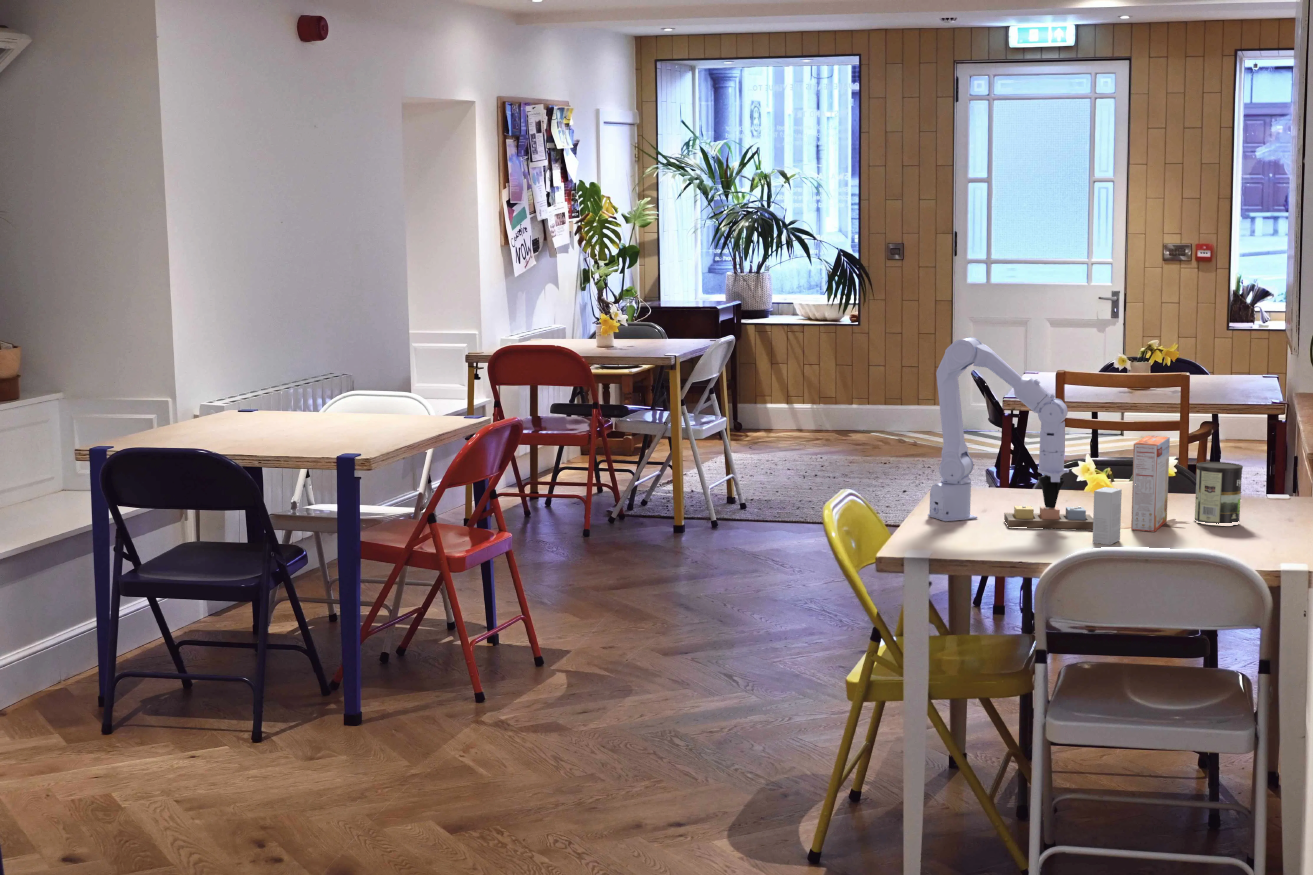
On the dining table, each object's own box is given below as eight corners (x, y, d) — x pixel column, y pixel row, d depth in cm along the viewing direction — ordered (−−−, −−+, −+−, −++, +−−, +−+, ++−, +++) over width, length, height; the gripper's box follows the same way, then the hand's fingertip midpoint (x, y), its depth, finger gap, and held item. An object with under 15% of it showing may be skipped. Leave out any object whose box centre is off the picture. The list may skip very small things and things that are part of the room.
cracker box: (1141, 520, 338) (1145, 434, 335) (1167, 522, 335) (1171, 436, 332) (1128, 530, 326) (1132, 441, 323) (1155, 532, 323) (1159, 443, 320)
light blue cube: (1067, 524, 329) (1068, 508, 329) (1065, 521, 333) (1065, 505, 333) (1085, 525, 329) (1086, 509, 328) (1082, 521, 333) (1083, 506, 332)
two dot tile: (1041, 524, 330) (1042, 508, 329) (1039, 520, 334) (1040, 505, 333) (1059, 524, 329) (1059, 508, 329) (1056, 521, 333) (1057, 505, 333)
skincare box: (1101, 538, 317) (1104, 486, 316) (1120, 541, 314) (1122, 488, 313) (1091, 542, 313) (1093, 490, 311) (1109, 545, 310) (1112, 492, 308)
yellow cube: (1015, 523, 331) (1016, 507, 330) (1013, 520, 335) (1014, 504, 334) (1033, 523, 330) (1033, 508, 330) (1030, 520, 334) (1031, 505, 334)
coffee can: (1238, 519, 338) (1241, 462, 336) (1241, 528, 328) (1244, 469, 326) (1192, 517, 341) (1195, 460, 339) (1194, 525, 331) (1197, 467, 329)
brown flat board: (1008, 528, 329) (1008, 519, 328) (1004, 520, 338) (1004, 512, 337) (1095, 530, 326) (1096, 521, 326) (1089, 522, 335) (1089, 514, 335)
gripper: (1074, 455, 322) (1072, 513, 324) (1064, 446, 336) (1062, 501, 338) (1043, 455, 323) (1041, 512, 324) (1034, 446, 337) (1032, 501, 339)
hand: (1049, 507), depth 331 cm, fingers closed, pressing on two dot tile
